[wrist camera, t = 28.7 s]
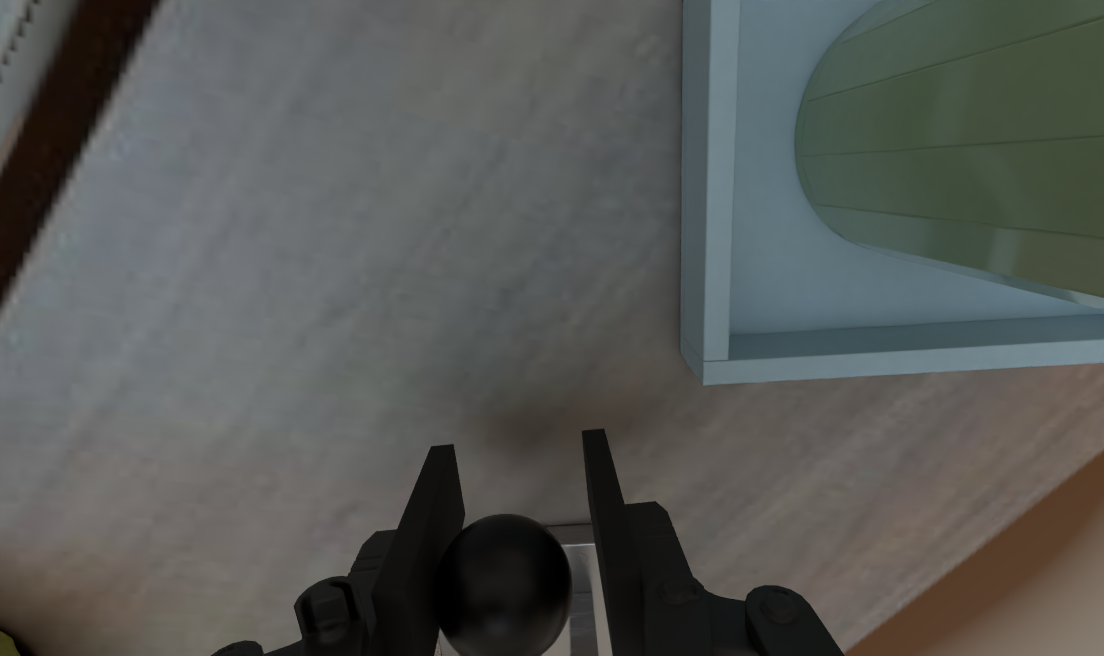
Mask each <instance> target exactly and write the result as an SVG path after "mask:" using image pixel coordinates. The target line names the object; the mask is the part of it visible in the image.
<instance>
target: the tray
mask: <svg viewBox="0 0 1104 656" xmlns="http://www.w3.org/2000/svg"><path fill="white" fill-rule="evenodd" d="M879 1H880V0H683V63H682V191H681V320H680V353H681V355H682V356H683V357H684V359H685V361H686V362H687V363H688V365H689V366H690V368H691V369H692V370H693V372H694V373H695V375H696V376H697V378H698V379H699V380H700V382H701V383H702V385H719V384H737V383H754V382H772V381H789V380H807V379H825V378H842V377H860V376H878V375H895V374H913V373H931V372H948V371H966V370H984V369H1001V368H1019V367H1037V366H1054V365H1072V364H1089V363H1104V310H1102V309H1098V308H1094V307H1090V306H1086V305H1082V304H1078V303H1074V302H1070V301H1066V300H1062V299H1058V298H1054V297H1050V296H1046V295H1042V294H1037V293H1033V292H1029V291H1025V290H1021V289H1017V288H1013V287H1009V286H1005V285H1001V284H997V283H993V282H989V281H985V280H981V279H977V278H973V277H969V276H965V275H961V274H957V273H953V272H949V271H945V270H941V269H937V268H932V267H928V266H924V265H920V264H916V263H912V262H908V261H904V260H900V259H896V258H892V257H888V256H885V255H883V254H880V253H878V252H876V251H872V250H869V249H866V248H863V247H860V246H857V245H855V244H853V243H851V242H849V241H847V240H845V239H843V238H842V237H840V236H839V235H838V234H836V233H835V232H833V231H832V230H831V229H830V228H829V227H828V226H827V225H826V224H825V223H824V222H823V221H822V220H821V219H820V218H819V216H818V215H817V214H816V212H815V211H814V210H813V208H812V206H811V205H810V203H809V201H808V199H807V197H806V196H805V193H804V190H803V188H802V185H801V182H800V179H799V175H798V170H797V166H796V156H795V130H796V124H797V118H798V112H799V109H800V105H801V102H802V98H803V95H804V93H805V90H806V88H807V85H808V83H809V80H810V78H811V76H812V74H813V72H814V71H815V69H816V67H817V65H818V63H819V61H820V60H821V58H822V57H823V56H824V54H825V53H826V51H827V50H828V49H829V47H830V46H831V44H832V43H833V42H834V41H835V40H836V39H837V38H838V36H839V35H840V34H841V33H842V32H843V31H844V30H845V29H846V28H847V27H848V26H849V25H850V24H851V23H852V22H853V21H855V20H856V19H857V18H858V17H859V16H860V15H862V14H863V13H865V12H866V11H867V10H869V9H870V8H872V7H873V6H874V5H875V4H876V3H878V2H879Z"/></svg>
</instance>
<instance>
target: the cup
mask: <svg viewBox="0 0 1104 656" xmlns="http://www.w3.org/2000/svg"><path fill="white" fill-rule="evenodd" d="M795 156H796V166H797V170H798V175H799V179H800V182H801V185H802V188H803V190H804V193H805V196H806V197H807V199H808V201H809V203H810V205H811V206H812V208H813V210H814V211H815V212H816V214H817V215H818V216H819V218H820V219H821V220H822V221H823V222H824V223H825V224H826V225H827V226H828V227H829V228H830V229H831V230H832V231H833V232H835V233H836V234H838V235H839V236H840V237H842V238H843V239H845V240H847V241H849V242H851V243H853V244H855V245H857V246H860V247H863V248H866V249H869V250H872V251H876V252H878V253H880V254H883V255H885V256H888V257H892V258H896V259H900V260H904V261H908V262H912V263H916V264H920V265H924V266H928V267H932V268H937V269H941V270H945V271H949V272H953V273H957V274H961V275H965V276H969V277H973V278H977V279H981V280H985V281H989V282H993V283H997V284H1001V285H1005V286H1009V287H1013V288H1017V289H1021V290H1025V291H1029V292H1033V293H1037V294H1042V295H1046V296H1050V297H1054V298H1058V299H1062V300H1066V301H1070V302H1074V303H1078V304H1082V305H1086V306H1090V307H1094V308H1098V309H1102V310H1104V0H880V1H879V2H878V3H876V4H875V5H874V6H873V7H872V8H870V9H869V10H867V11H866V12H865V13H863V14H862V15H860V16H859V17H858V18H857V19H856V20H855V21H853V22H852V23H851V24H850V25H849V26H848V27H847V28H846V29H845V30H844V31H843V32H842V33H841V34H840V35H839V36H838V38H837V39H836V40H835V41H834V42H833V43H832V44H831V46H830V47H829V49H828V50H827V51H826V53H825V54H824V56H823V57H822V58H821V60H820V61H819V63H818V65H817V67H816V69H815V71H814V72H813V74H812V76H811V78H810V80H809V83H808V85H807V88H806V90H805V93H804V95H803V98H802V102H801V105H800V109H799V112H798V118H797V124H796V130H795Z"/></svg>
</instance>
